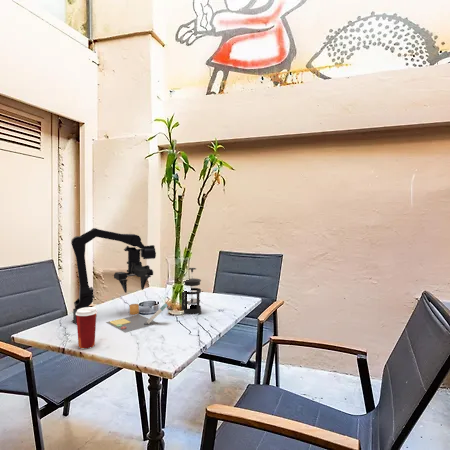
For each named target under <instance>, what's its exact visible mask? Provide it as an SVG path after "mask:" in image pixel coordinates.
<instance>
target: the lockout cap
mask: <svg viewBox="0 0 450 450" xmlns="http://www.w3.org/2000/svg"><path fill="white" fill-rule="evenodd" d="M129 315H132V316H135V315H140V304H139V303H131V304H129Z"/></svg>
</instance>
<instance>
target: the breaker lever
mask: <svg viewBox="0 0 450 450" xmlns="http://www.w3.org/2000/svg"><path fill="white" fill-rule="evenodd" d="M168 306H169V305H168V304H167V303H164V304H163V305H161V307H159V309H158V310H156V312H154V313H153V315H152V316H151V317H149V318H148V319H149V320H148V321H146V322H147V323H148V324H149V323H150V322H151V321H152V320H153V321H154V320H155V319H156V318H157V316H159V315H160V314H161V313H162V312H163V311H164V310H165V309H167V307H168Z"/></svg>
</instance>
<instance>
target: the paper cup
mask: <svg viewBox="0 0 450 450" xmlns="http://www.w3.org/2000/svg"><path fill="white" fill-rule="evenodd" d="M97 313H98V310H97V308H96V307H94V306H93V307H92V306H89V307H85V308H80V309H78V310H77V312H76V314H75V315H76V317H77V324H76V329H77V330H76V331H77V340H78V341H77V342H78V344H77V345H78V348H79V347H80V348H79V349H81V348H87V349H91V348H93V347H94V346H95V343H96V327H97V326H96V325H97ZM90 347H91V348H90Z"/></svg>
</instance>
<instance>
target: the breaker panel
mask: <svg viewBox="0 0 450 450" xmlns="http://www.w3.org/2000/svg"><path fill="white" fill-rule="evenodd" d="M149 319H150V318H148V317H146V316H143V315H141V314H136V315H132V316H127V317H123V318H118V319H115V320H111V321H105V323H106V324H108V325H110V326H111V327H113V328H116V329H117V330H119V331H121V332H123V333H129V332H133V331H136V330H140V329H144V328H148V327H152V326H154V325H155V326H156V325H159V324H160V322H157V321H156V320H154V319H153V320H152V321H151V322H150V323H149V324H148V323H147V322H146V321H148V320H149Z"/></svg>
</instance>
